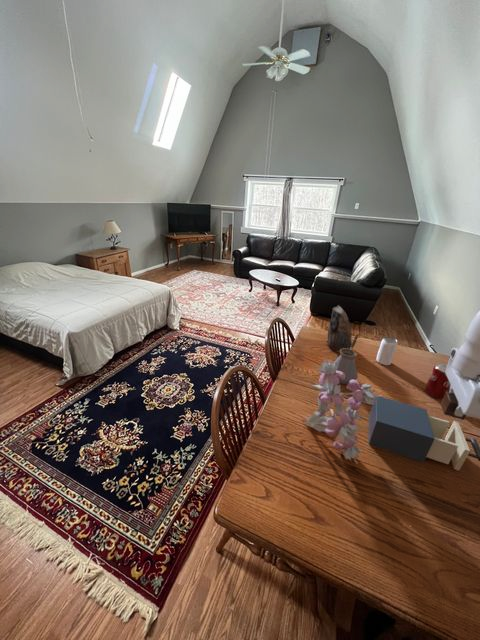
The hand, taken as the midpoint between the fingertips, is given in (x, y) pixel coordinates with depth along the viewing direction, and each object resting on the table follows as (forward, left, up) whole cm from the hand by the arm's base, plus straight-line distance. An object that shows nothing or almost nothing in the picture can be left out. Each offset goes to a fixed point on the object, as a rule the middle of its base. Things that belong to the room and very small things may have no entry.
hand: (454, 407), depth 75 cm
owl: (+33, -53, -17) cm, 64 cm away
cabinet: (+11, 0, -17) cm, 20 cm away
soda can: (-6, -32, -17) cm, 36 cm away
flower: (+28, +10, -17) cm, 34 cm away
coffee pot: (+28, -30, -17) cm, 44 cm away
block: (0, 0, -2) cm, 2 cm away
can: (+12, -48, -17) cm, 52 cm away
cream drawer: (-1, 0, -16) cm, 16 cm away
